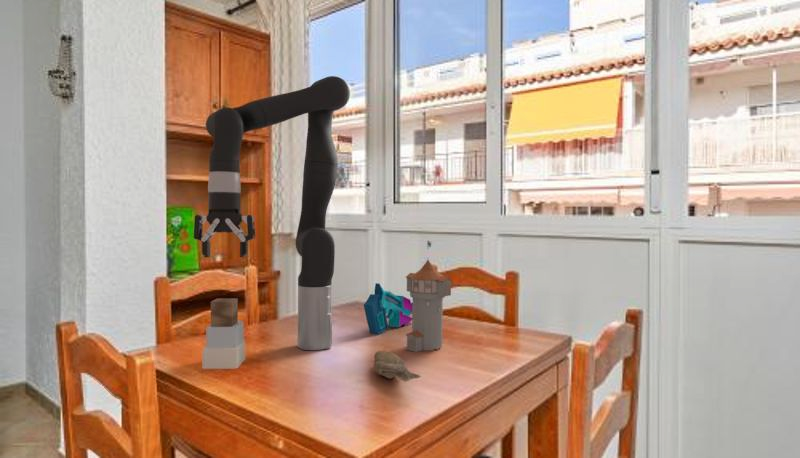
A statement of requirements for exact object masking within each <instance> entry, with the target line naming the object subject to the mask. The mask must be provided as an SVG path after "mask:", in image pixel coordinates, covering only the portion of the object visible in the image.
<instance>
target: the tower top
mask: <svg viewBox="0 0 800 458" xmlns="http://www.w3.org/2000/svg"><path fill="white" fill-rule="evenodd" d="M205 328H206V329H205V331H206V332H205V333H206V335H205V337H206V339H205V340H206V341H205V342H206V344H205V346H206V348H237V347H238V346H239V345H240V344H241V343H242V342H243V341H244V340H245V339H244V338H245V337H244V336H245V335H244V333H245V332H244V320H238V322H237V323H236V324H235V325H233V326H232V327H211V324H209V325H208V326H206V327H205Z"/></svg>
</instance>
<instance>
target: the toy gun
mask: <svg viewBox="0 0 800 458" xmlns="http://www.w3.org/2000/svg"><path fill="white" fill-rule="evenodd" d="M412 306H413V301H412V302H411V299H409V298H408V297H405V296H403V295H399V294H398V295H397V294H394V293H393V292H391V291H387V290H384V288H383V287H382V286H381V284H380V283H378V282H377V283H375V285H374V294H372V293H371V294H369V296H368V298H367V300H366V301H365V302H364V303H363V307H364V308H363V309H364V313H365V318H366V322H367V327H368V330H369V334H370V333H371V334H372V335H376V334H377V335H378V336H379V335H381V334H382V333H384V332H386V331H387V330H389V328H388V327H393V328H398V327H399V328H401V327H403V326H402V325H407V326H408V325H409V324H410V322H412V316H411V315H412Z"/></svg>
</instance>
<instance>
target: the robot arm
mask: <svg viewBox="0 0 800 458" xmlns="http://www.w3.org/2000/svg"><path fill="white" fill-rule="evenodd" d="M350 96H351V91H350V87H349V85H348V84H347V81H346V80H344V79H343V78H341V77H339V76H335V75H334V76H333V75H329V76H326V77H324V78H321V79H318V80H317V81H315V82H313V83H312V84H311V85H309V86H308V87H306V88H301V89H299V90H295V91H291V92H285V93H282V94H281V93H280V94H277V95H272V96H268V97H263V98H259V99H255V100H252V101H249V102H247V103H245V104H242V105H240V106H236V107H229V106H228V107H222V108H220V109H218V110H217V109H216V111H214V112H212V113H211V114H209V115H208V117H207V119H206V121H205V128H206V131H207V133H208V134H209V135H210V136H211V137H212V138H213V146H212V149H211V150H210V152H209V156H208V157H209V159H208V160H209V163H208V164H209V167H208V168H209V169H208V172H209V173H208V174H209V176H208V184H207V191H208V193H207V194H208V201H207V202H208V204H207V205H208V209H207V211H208V214H207V215H202V214H196V215H194V220H193V221H194V222H193V223H194V226H193V229H194V230H193V239H194V240H198V241H201V253H202V255H203V256H204V258H210V257H211V241H210V240H211V238H212V237H213V236H214V235H215V234H216V233H227V234H228V233H234V235H236V236H237V238H238V239H239V240H240V243H239V257H240V258H245V257H246V255H248V247H249V246H248V243H249V242H250V240H254V239H255V238H256V226H255V216H254V215H253V214H248V215H242V209H241V208H242V206H241V205H242V198H241V197H242V196H241V195H242V194H241V193H242V191H241V190H242V189H241V188H242V187H241V186H242V185H241V181H242V180H241V175H240V153H241V147H242V143H243V136H244V134H245V133H247V132H250V131H255V130H259V129H264V128H268V127H270V126H274V125H277V124H280V123H283V122H286V121H289V120H291V119H294V118H296V117H299V116H303V115H305V114H307V134H306V141H305V142H306V145H305V156H304V164H303V173H302V174H303V176H302V177H303V178H302V192H301V210H300V215H299V216H300V218H299V222H298V228H297V231H296V237H295V249H296V251H297V253H298V254H299V256H300V257H301V267H300V269H301V270H300V272H299V274H298V277H297V348H298V349H300V350H305V351H321V350H326V349H327V350H328V349H329V350H330V349H331V347H332V344H333V310H332V279H333V276H334V272H335V258H336V257H335V254H336V253H335V252H336V251H335V248H336V246H335V240H334V237H333V235H332V233H330V232H329V231H328V230H326V216H327V210H328V208H329V203H330V200H331V199H332V196H333V193H334V190H335V187H336V182H337V176H338V175H337V174H338V173H337V172H338V165H339V164H338V161H339V160H338V153H337V150H336V146H335V143H334V139H333V136H332V135H333V133H332V126H333V117H334V112H336V111H338V110H341V109H342V108H343V107H345V106H346V105H347V104H348V103H349V101H350V98H351V97H350ZM206 221H207V222H208V224H209V225H210V226H209V227H208V228H207V230H206V231H205V233H204V234H203V225H204V224H206ZM243 221H244V223H245V224H246V226H247V227H246V228H247V235H246V234H245V232H244V230H243V229H242V228H241V226H240V224H241V223H242V222H243Z"/></svg>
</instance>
